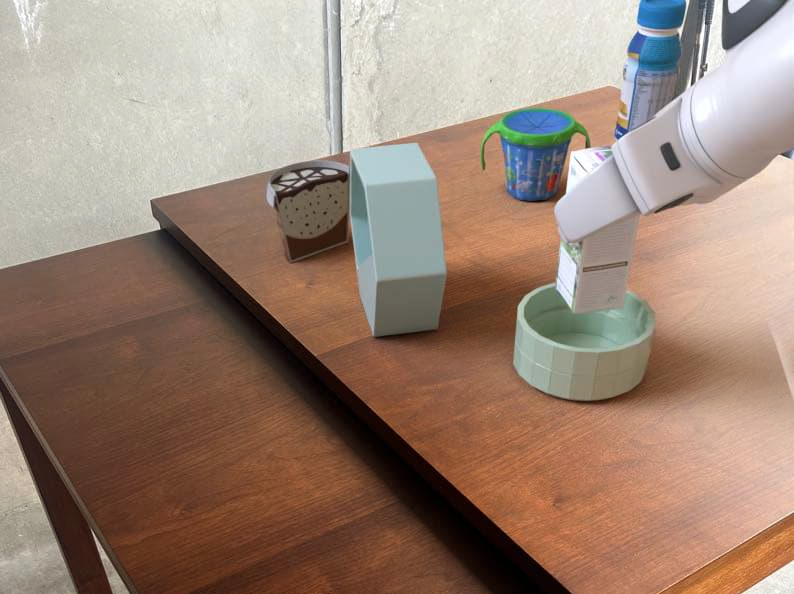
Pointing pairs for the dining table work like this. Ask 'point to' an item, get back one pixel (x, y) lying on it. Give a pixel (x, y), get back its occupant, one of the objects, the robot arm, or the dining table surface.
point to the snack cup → (534, 150)
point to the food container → (310, 206)
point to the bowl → (582, 346)
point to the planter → (397, 238)
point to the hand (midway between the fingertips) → (595, 219)
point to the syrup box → (595, 252)
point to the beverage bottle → (651, 64)
